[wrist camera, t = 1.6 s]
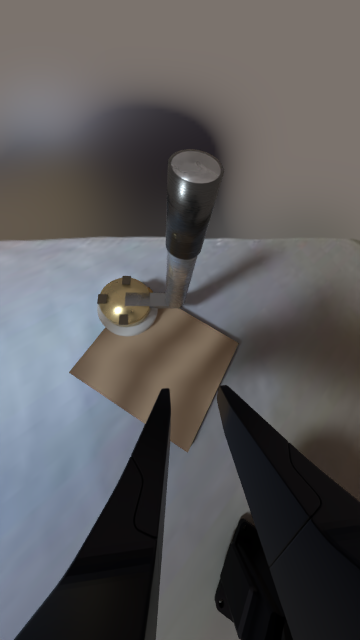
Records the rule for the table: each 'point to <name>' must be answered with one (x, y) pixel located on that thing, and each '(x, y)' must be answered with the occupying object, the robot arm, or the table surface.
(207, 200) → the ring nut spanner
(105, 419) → the table surface
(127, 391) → the brown wooden board
